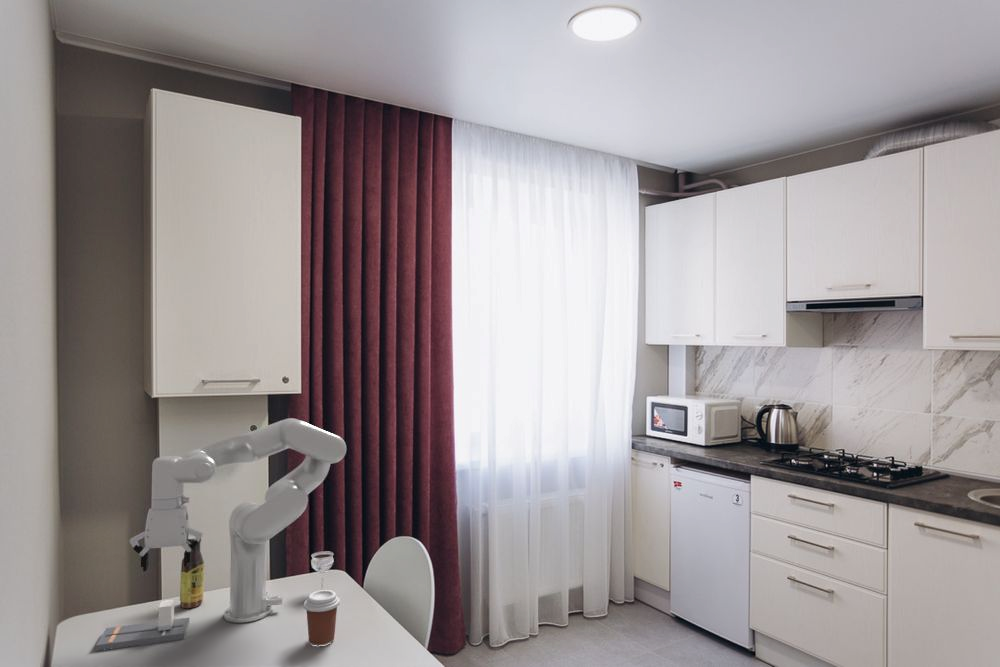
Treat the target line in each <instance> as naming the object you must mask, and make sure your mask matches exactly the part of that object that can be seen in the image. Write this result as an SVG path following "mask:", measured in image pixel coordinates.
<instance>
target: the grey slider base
mask: <svg viewBox="0 0 1000 667" xmlns="http://www.w3.org/2000/svg"><path fill="white" fill-rule="evenodd" d="M190 620H191V618H190V617H183V618H174V623H173V625H172V628H171V629H169V630H161V631H158V621H151V622H150V621H149V622H144V623H137V624H136V623H135V624H128V625H122V626H121V625H119V626H113V627H106V628H105V630H104V631H103V633H102V635H101V636H100V638H99V640H98V641H97V643H96V644H95V652H98V651H97V650H102V651H105V650H104V649H109V650H112V649H111V648H116V649H121V648H120V647H123V648H128V646H130V647H137V645H138V646H143V645H151V644H157V643H165V642H171V641H180V640H179V639H181V640H185V638H184V637H186V635H185V634H187V632H186V631H188V629H187V628H189V626H188V625H190V623H191V622H190ZM189 622H190V623H189ZM118 647H119V648H118Z"/></svg>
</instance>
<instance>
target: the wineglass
mask: <svg viewBox="0 0 1000 667" xmlns="http://www.w3.org/2000/svg"><path fill="white" fill-rule="evenodd" d="M310 555H311V558H312V559H311V560H310V562H311V563H310V564H311V568H312V569H314V570H315V571H316V572H318V573H319V574H320V583H321V590H324V576H325V573H326V572H327V571H329V570H330V569H331V568H332V566H333V565H334V562H335V561H334V557H333V556H334V552H332V551H330V550H329V551H328V550H327V551H326V550H325V551H317V552H314V553H312V554H310Z"/></svg>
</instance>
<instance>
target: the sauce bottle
mask: <svg viewBox="0 0 1000 667" xmlns="http://www.w3.org/2000/svg"><path fill="white" fill-rule="evenodd" d="M187 540H188V542H189V543H190V544H191V543H192V542H193V541H194V540H195V536H193V535H191V536H190V535H189V537H188V539H187ZM201 542H202V537H201V538H200V540H199V542H198V544H197V545H196V546H195V547H194V548H193V549H192V550H191V562H190V563H188V566H187V567H184V557H183V558H182V559H181V568H180V582H179V583H180V585H179V587H180V589H179V594H180V595H179V601H180V604H179V606H180V607H181V608H183V609H192V608H196V607H199V606H201V605H202V603H203V600H204V589H205V588H204V586H205V585H204V584H205V583H204V582H205V562H204V559H203V555H202V552H201Z"/></svg>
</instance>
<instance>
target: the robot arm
mask: <svg viewBox="0 0 1000 667" xmlns="http://www.w3.org/2000/svg"><path fill="white" fill-rule="evenodd" d="M287 449H291V450H294V451H296V452H299V453H300V454H303V455H305V458H304V460H303V461H302V462H301V463H300V464H299V465H298V466H297V467H296V468H294V469H293V470H292V471H290V472H288V473H287V474H286V475H285V476H283V477H281V478H280V479H279V480H277V481H275V482H273V484H271V485H270V486H269V487H268V488H267V490H266V492H265V495H264V503H262V504H261V505H260V503H257V502H254V501H245V502H242V503H239V504H238V505H237V506H236V507H234V509H233V510H232V512H231V514H230V517H229V521H228V529H229V539H230V568H229V569H230V575H229V576H230V577H229V578H230V582H229V584H230V585H229V587H230V589H229V607H228V608H226V609H225V610H224V612H223V618H224V620H226V621H227V622H230V623H238V624H240V623H242V624H243V623H251V622H254V621H258V620H261V619H264V618H265V617H267V616H268V615H269V614H270V613H271V611H272V606H281V605H283V597H279V596H278V595H273V596H270V595H268V591H267V542H268V541H269V540H270V539H272V538H273V537H275V536H276V535H277V534H279V533H280V532H282V531H283V530H284V529H285V528H287V527H289V525H290V524H292V523H294V522H295V521H296V520H297V519H299V517H301V516H302V514H303V513H304V512H305V511H306V509H307V506H308V503H309V497H308V495H309V494H310V493H312V492H313V491H314V490H315V489H317V488H318V486H320V485H321V484H322V483H323V482H324V480H325V479H326V478H327V476H328V474H329V471H330V467H331V464H336V463H339V462H340V461H342V459H344V457H345V456H346V454H347V444H346V442H345V439H343V438H342V437H341V436H340V435H337V434H334V433H331V432H329V431H326V430H324V429H322V428H319V427H317V426H314V425H312V424H310V423H308V422H306V421H304V420H299V419H297V418H295V417H294V418H293V417H292V418H290V417H289V418H285V419H281V420H279V421H276V422H273V423H271V424H269V425H266V426H264V427H260V428H258V429H255V430H252V431H250V432H246V433H243V434H240V435H235V436H233V437H229V438H226V439H222V440H218V441H215V442H212V443H208V444H205V445H203V446H201V447H198V448H196V449H193V450H190V451H189V452H188V453H186V454H185V455H184V456H183V457H181V456H180V455H179V456H178V455H168V456H167V455H166V456H159V457H156V458H155V459H154V460H153V462H152V467H151V469H152V470H151V507H150V508H149V509H148V512H147V516H146V520H145V529H144V531H143V532H141V533H139V534H136V535H135V536H133V537H131V538H130V539H129V540H128V541H129V544H130V546H131V547H132V548H133V550H134V551H135V552H136V553H137V554H139V555H138V556H140V568H142V571H143V572H147V571H148V569H149V563H150V560H149V558H150V553H149V552H148V551H149V550H151V549H159V548H160V549H162V548H171V547H180V546H181V547H182V548H183V549H184V550H185V551H184V553H183V558H184V567H187V566H188V563H190V562H191V550H192V549H193V548H194V547H195V546H196V545H197V544H198V542H199V540H200V538H201V539H202V537H203V534H204V533H203V532H201V531H199V530H197V529H195V528H192V527H190V526H189V512H188V507H187V505H185V504H187V503H190V497H186V496H185V495H184V484H201V483H202V484H203V483H206V482H209V481H210V480H212V479H213V478H214V476H215V475H216V474H217V468H218V469H219V468H221V467H224V466H227V465H232V464H237V463H252V462H257V461H260V460H262V459H265V458H267V457H270V456H272V455H276V454H278V453H280V452H282V451H284V450H287ZM190 535H191V536H195V540H194V541H193V542H192V543H191V544H190V543H189V542H188V540H187V539H188V537H190ZM142 539H144V547H143V546H142V545H141V544H139V542H138V541H140V540H142Z"/></svg>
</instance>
